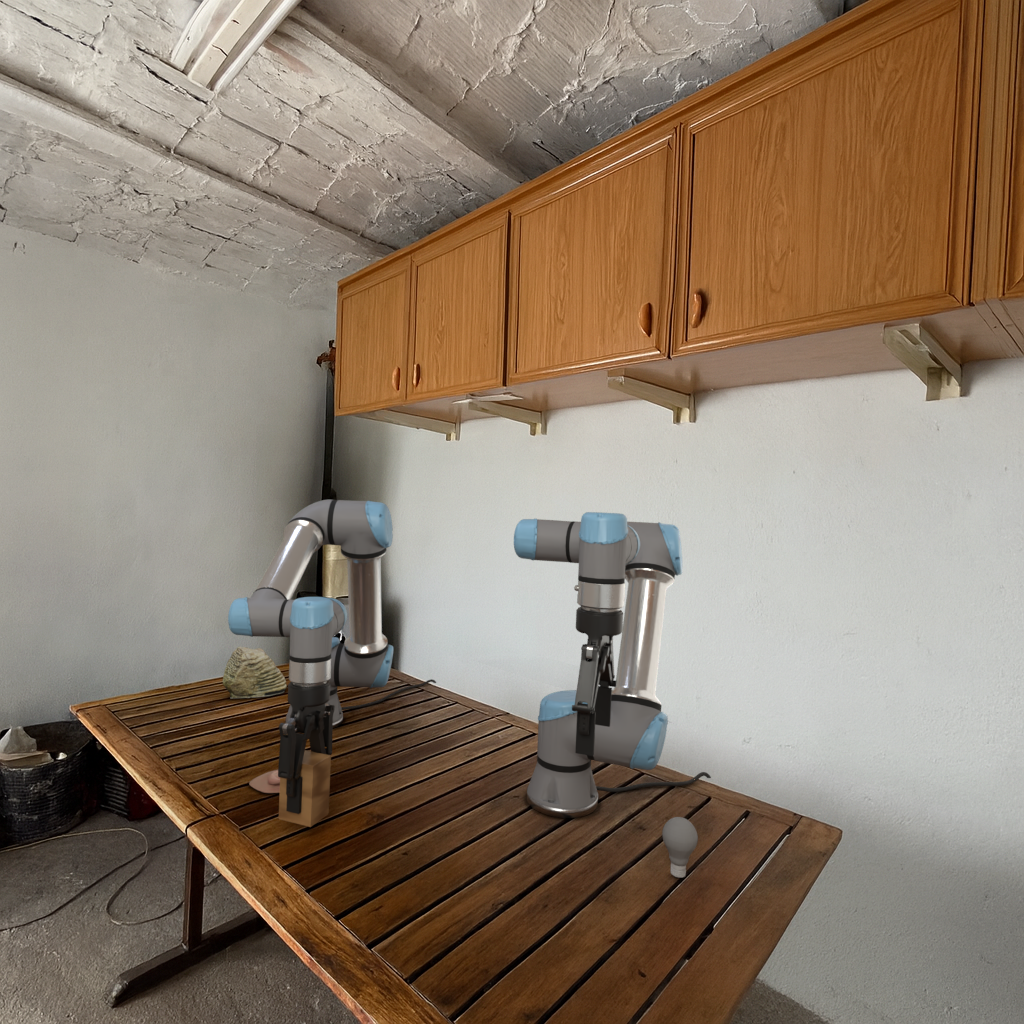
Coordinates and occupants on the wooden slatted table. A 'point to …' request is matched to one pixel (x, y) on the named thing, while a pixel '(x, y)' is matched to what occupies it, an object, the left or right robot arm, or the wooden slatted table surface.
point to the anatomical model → (267, 782)
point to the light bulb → (679, 843)
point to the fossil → (252, 674)
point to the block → (309, 790)
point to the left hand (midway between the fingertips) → (304, 803)
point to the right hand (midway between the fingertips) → (593, 738)
